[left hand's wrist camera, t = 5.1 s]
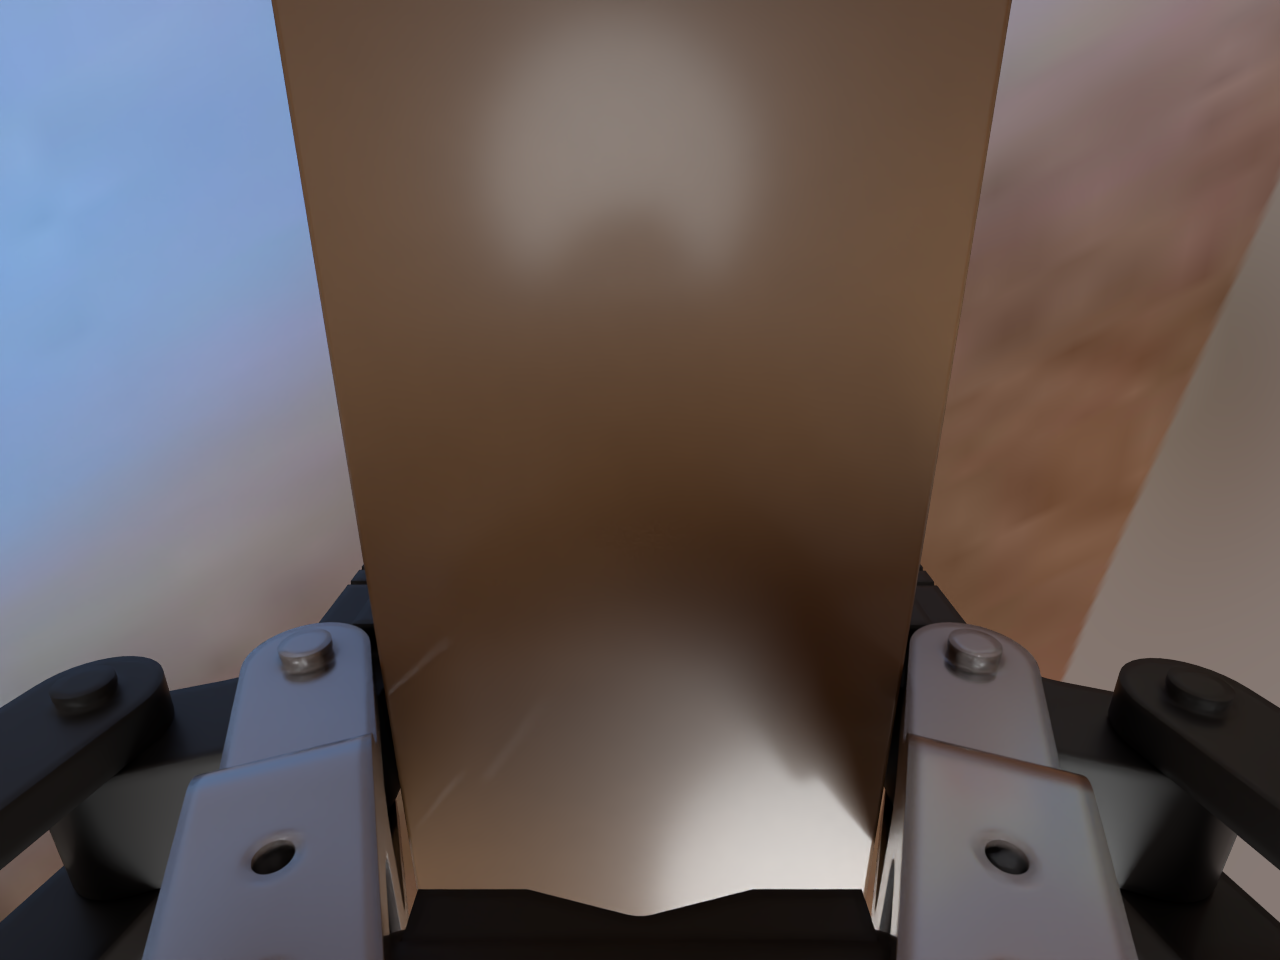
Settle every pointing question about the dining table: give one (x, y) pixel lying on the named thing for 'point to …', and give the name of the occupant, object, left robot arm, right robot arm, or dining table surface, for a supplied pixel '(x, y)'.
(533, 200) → the bar
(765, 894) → the left robot arm
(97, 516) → the dining table surface
